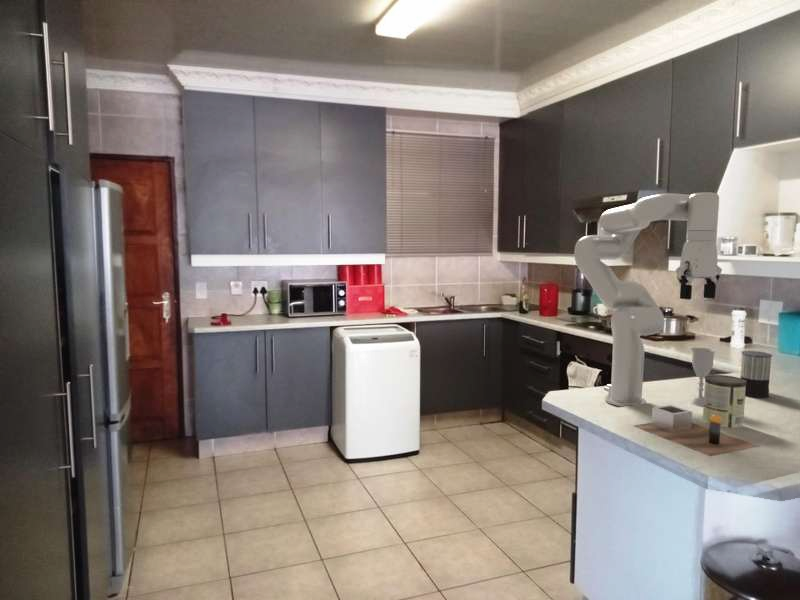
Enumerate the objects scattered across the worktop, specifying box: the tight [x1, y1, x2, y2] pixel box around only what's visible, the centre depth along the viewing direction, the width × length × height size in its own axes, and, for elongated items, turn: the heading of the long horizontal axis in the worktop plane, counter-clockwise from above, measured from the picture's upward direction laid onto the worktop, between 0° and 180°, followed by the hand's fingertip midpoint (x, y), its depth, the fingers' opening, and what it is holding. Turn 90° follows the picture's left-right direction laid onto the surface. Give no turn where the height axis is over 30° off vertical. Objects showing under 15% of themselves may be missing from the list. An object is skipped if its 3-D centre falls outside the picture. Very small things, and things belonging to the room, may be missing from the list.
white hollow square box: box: [650, 404, 693, 433], centre depth 154 cm, size 7×7×5 cm
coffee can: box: [702, 374, 747, 429], centre depth 159 cm, size 10×10×14 cm
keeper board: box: [633, 422, 760, 457], centre depth 148 cm, size 24×18×2 cm
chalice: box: [690, 347, 716, 407], centre depth 182 cm, size 7×7×18 cm
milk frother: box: [740, 350, 773, 399], centre depth 198 cm, size 14×16×15 cm
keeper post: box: [708, 414, 722, 444], centre depth 142 cm, size 3×3×7 cm
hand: (697, 298), depth 158 cm, fingers open, 9 cm apart
